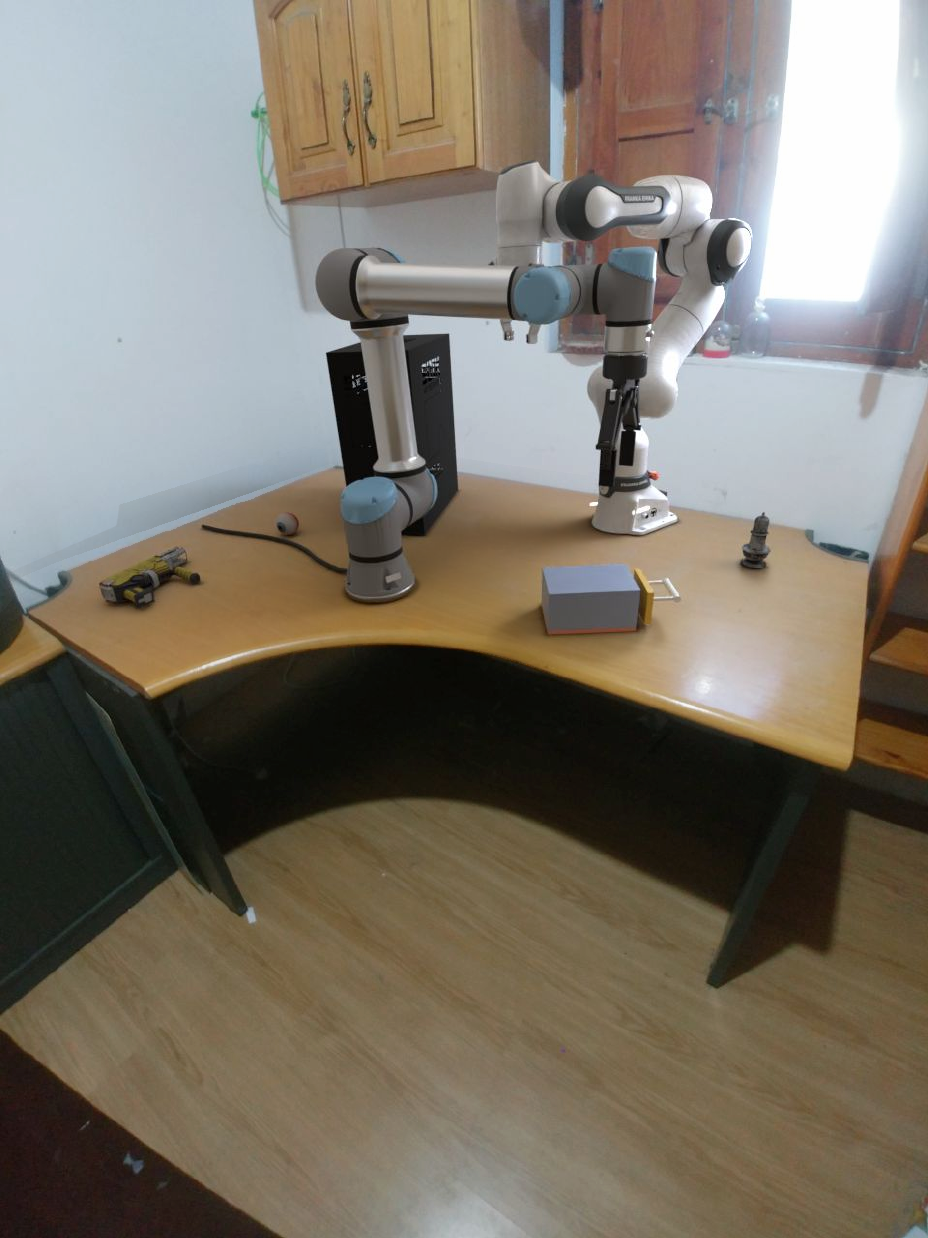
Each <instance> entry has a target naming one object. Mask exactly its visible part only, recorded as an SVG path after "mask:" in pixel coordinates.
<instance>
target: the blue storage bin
mask: <svg viewBox="0 0 928 1238" xmlns="http://www.w3.org/2000/svg"><path fill="white" fill-rule="evenodd" d="M639 597H640V589H639V587H638V585H637V583H636V581H635V580H634V575H633V573H631V571H630V569H629V566H628V565H627V563H614V564H613V563H612V564H611V563H610V564H609V563H608V564H589V565H588V564H587V565H568V566H567V565H566V566H545V567H543V566H542V568H541V609H542V613H543V614H542V615H543V618H544V622H545V626H546V627H545V628H546V631H547V635H550V636H551V635H571V634H574V635H575V634H596V633H619V632H636V631H637V624H638V616H639V613H638V606H639Z"/></svg>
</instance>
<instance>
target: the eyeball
mask: <svg viewBox="0 0 928 1238" xmlns="http://www.w3.org/2000/svg"><path fill="white" fill-rule="evenodd" d="M299 525H300V522H299V519H298V517H297V516H296V515H295V514H294V513H292V512H287V511H286V512H282V513H280V514H279V515H278V516H277V517H276V520H275V527H276V529H277V530H278V531H279V532H280V533H281V534H282V535H285V536H286V535H287V536H289V535H293V534H295V533H296V532H297V531H298V529H299Z"/></svg>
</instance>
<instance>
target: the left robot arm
mask: <svg viewBox="0 0 928 1238" xmlns="http://www.w3.org/2000/svg"><path fill="white" fill-rule="evenodd" d="M657 260H658V252H657V251H656V249H655V248H654V247H653V246H633V247H622V248H621V247H620V248H612V249H611V250H610V251H609V255H608V259H607V262H603V263H596V264H595V263H594V264H593V263H592V264H566V265H562V264H559V265H552V266H551V265H550V266H549V265H548V266H547V265H546V266H496V265H487V264H457V263H455V264H454V263H453V264H452V263H449V264H448V263H416V262H415V263H413V262H412V263H411V262H410V263H409V262H406V260H405V259H404V258H403V257H402V256H401V255H400V254H398V253H396V252H395V251H393V250H390V249H385V248H382V247H373V246H372V247H357V248H356V247H342V248H337V249H334V250H332V251H330V252H328V253H327V254H326V255H325V256H323V258H322V259H321V260H320V263H319V264H318V266H317V269H316V273H315V279H314V280H315V281H314V282H315V283H314V284H315V291H316V295H317V297H318V299H319V301H320V303H321V305H322V307H324V309H325V310H326V311H327V312H328V313H329V314H330V315H331V316H333V317H335V318H337V319H339V320H342V321H346V322H349V326H350V331H351V332H352V333H353V334H354V335H355V336H357V338H358V339H359V340H360V342H361V347H362V354H363V360H364V367H365V373H366V376H365V377H366V378H365V379H367V381H366V382H367V386H368V388H367V389H368V392H369V399H370V405H371V412H372V418H373V424H374V431H375V437H376V444H377V450H378V457H379V459H378V460H377V462H376V463H375V464H374V466H373V469H374V475H375V477H369V478H364V479H363V480H357V481H355V482H353V483H351V484H349V485H348V486H347V487H346V486H345V487H344V488H343V490H342V492H341V494H340V514H341V517H342V522H343V528H344V533H345V540H346V544H347V551H348V558H349V559H348V560H349V561H348V564H347V565H348V566H347V568H345V567H339V566H336V565H334V564H331V563H329V562H327V561H325V560H323V559H322V558H320V557H319V556H317V555H316V554H315V553H314V552H312V551H311V550H310V549H309V548H307V547H305V546H304V545H301V544H300V543H297V542H295V541H292V540H290V539H286V538H283V537H280V536H274V535H269V534H263V533H257V532H256V533H255V532H248V531H242V530H233V529H226V528H219V527H216V526H215V527H214V526H210V525H206V524H201V528H202V529H205V530H209V531H213V532H218V533H222V534H228V535H229V534H230V535H237V536H245V537H253V538H259V539H260V538H261V539H266V540H271V541H276V542H280V543H283V544H286V545H290V546H293V547H295V548H297V549H300V550H301V551H303V552H304V553H306V554H307V555H309V556H310V557H311V558H312V559H313V560H314V561H316V562H317V563H319V564H321V565H322V566H323V567H326V568H328V569H330V570H333V571H335V572H339V573H345V574H346V577H345V581H344V582H345V583H344V586H345V592H346V595H347V596H348V598H350V599H351V600H353V601H355V602H359V603H363V604H384V603H385V604H386V603H390V602H393V601H397V600H400V599H402V598H404V597H406V596H409V594H410V593H411V592H412V591H413V590H414V589H415V586H416V580H415V575H414V573H413V570H412V569H411V566H410V564H409V561H408V560H407V557H406V556H405V553H404V547H403V538H402V534H401V531H402V530H404V529H405V528H406V527H408V526H409V525H411V524H412V523H413V522H415V521H416V520H418V519H420V518H422V517H423V516H425V515H426V513H428V511H429V510H430V509H431V508H432V507H433V505H434V503H435V501H436V498H437V483H436V480H435V478H434V476H433V474H431V473H430V472H429V470H428V469H427V468H426V462H425V459H423V458H422V457H421V456H420V455H418V453H417V445H416V437H415V429H414V421H413V413H412V405H411V397H410V389H409V381H408V373H407V364H406V356H405V348H404V340H403V335H404V333H405V332H406V330H407V329H408V327H409V326H410V319H409V316H411V315H412V316H427V317H447V318H463V319H464V318H465V319H466V318H467V319H484V320H485V319H486V320H500V319H501V320H512V321H518V322H526V323H528V322H529V323H531V324H536V325H541V326H542V325H544V326H545V325H550V324H553V323H555V322H557V321H559V320H563V319H566V318H569V317H575V316H595V315H596V316H602V315H605V324H604V334H603V335H604V336H603V338H604V339H603V352H605V353H606V354H604V356H603V357H602V366H603V371H602V375H603V377H604V378H606V379H611V380H612V381H613V384H612V389H606V392H605V394H606V396H605V405H604V410H603V416H602V421H601V427H600V426H599V433H598V437H597V444H595V450H596V451H600V452H599V453H600V454H599V455H600V456H599V472H598V485H597V486H598V487H599V486H607V487H614V484H615V471H616V458H617V449H615V448H616V443H617V439H618V435H619V431H620V427H621V423H622V424H623V430H626V431H621V442H620V455H619V465H623V466H633V464H634V453H635V441H636V432H635V431H634V430H636V431H640V430H641V427H642V424H641V419H640V405H639V382H640V379H641V378H643V377H645V376H646V374H647V366H648V355H647V354H646V353H645V351H647V350H648V349H649V341H650V338H649V337H653V336H654V332H653V331H650V329H651V325H652V323H653V321H652V319H653V312H654V311H653V310H654V301H655V292H656V284H657V277H656V276H657ZM639 423H640V424H641V425H639ZM607 441H609V442H607Z"/></svg>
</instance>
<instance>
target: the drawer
mask: <svg viewBox="0 0 928 1238" xmlns="http://www.w3.org/2000/svg"><path fill="white" fill-rule="evenodd" d="M633 578H634V580H635V581H636V583H637V585H638V587H639V589H640V597H639V606H638V616H639V617H640V619H641V621H642V623H643V625H644V626H645V625H646V626H647V625H651V623H652V616H653V607H654V602H666V601H667V602H668V601H673V602H674V603H680V602H681V600H682V597H681V596H680V594H679V592H678V591H677V589H676V588H675V587H674V585H673V584H672V582H671V581H670V579H669V578H668V577H664V578H663V579H661V580H648V579H647V577H646V576H645V574H644V573H643V570H642V569H641V568H634V569H633ZM653 585H657V586H658V585H663V586H664V588H665V590H666V591H667V593H668V594H669V596H655V591H654V589H653V588H652V586H653Z"/></svg>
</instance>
